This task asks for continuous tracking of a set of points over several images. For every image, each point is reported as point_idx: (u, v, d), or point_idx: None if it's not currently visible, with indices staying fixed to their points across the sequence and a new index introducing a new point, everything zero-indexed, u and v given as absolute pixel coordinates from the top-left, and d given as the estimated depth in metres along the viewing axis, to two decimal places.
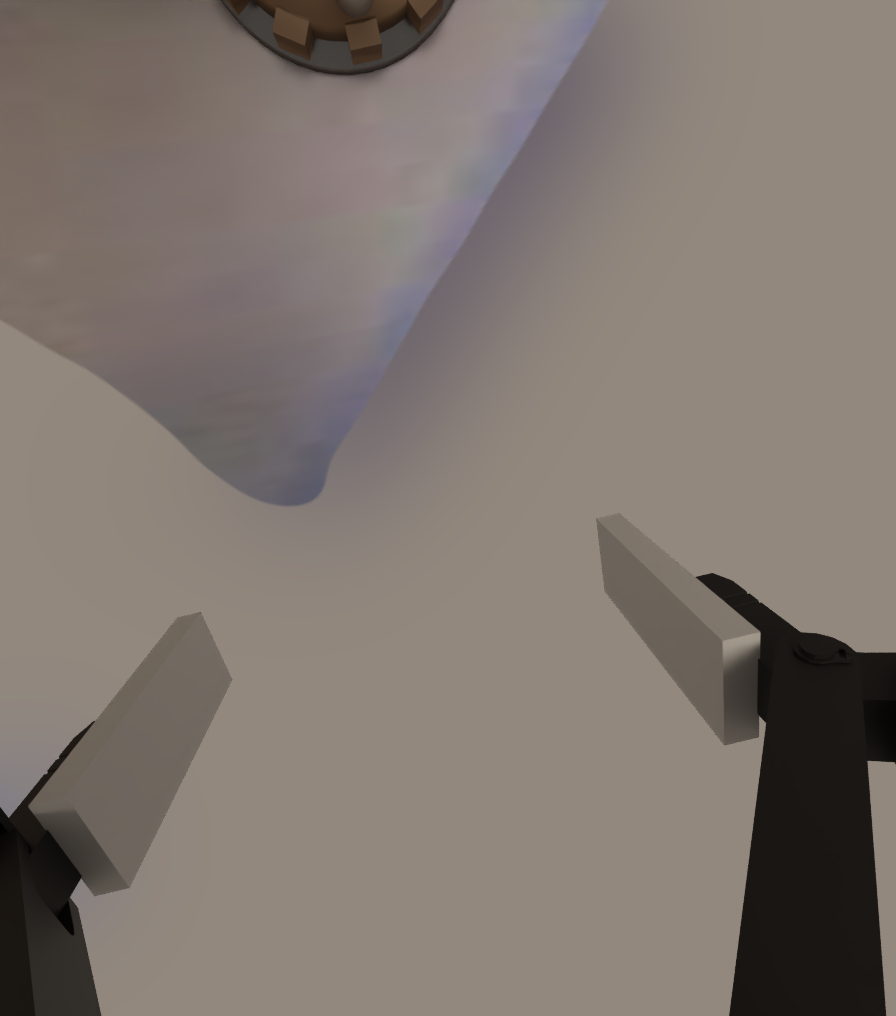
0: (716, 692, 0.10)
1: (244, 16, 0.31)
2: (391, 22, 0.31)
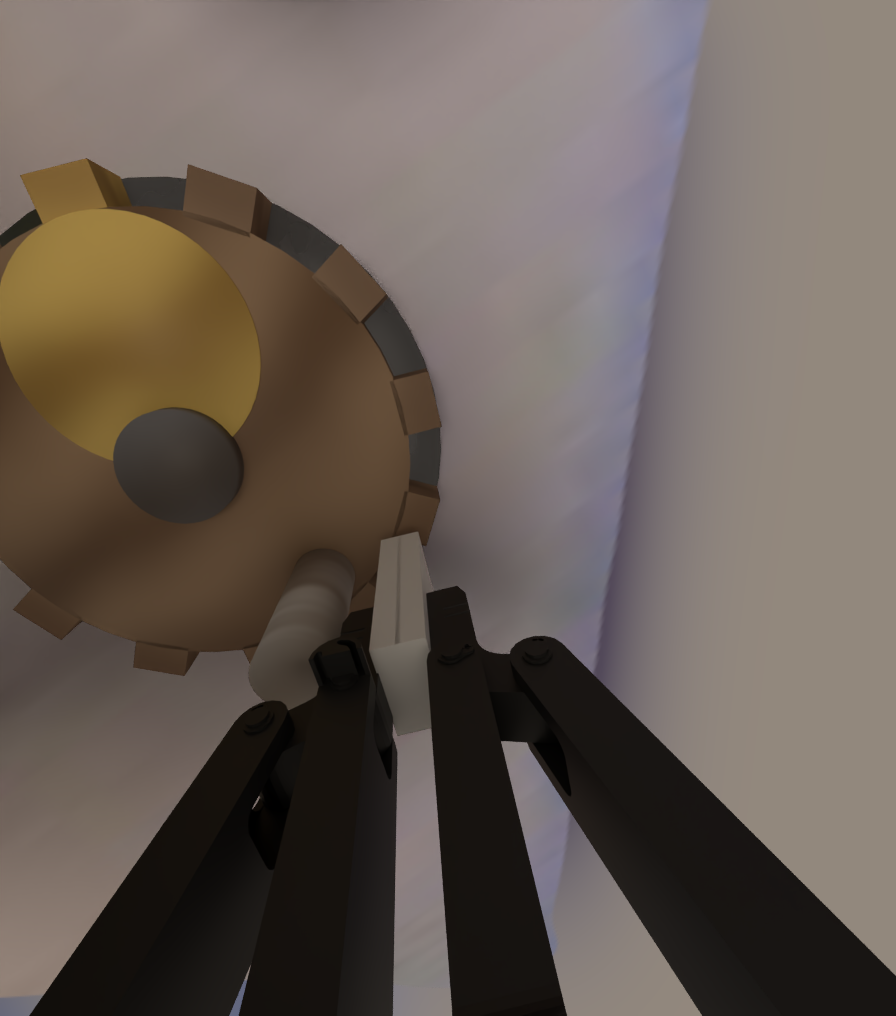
0: None
1: None
2: None
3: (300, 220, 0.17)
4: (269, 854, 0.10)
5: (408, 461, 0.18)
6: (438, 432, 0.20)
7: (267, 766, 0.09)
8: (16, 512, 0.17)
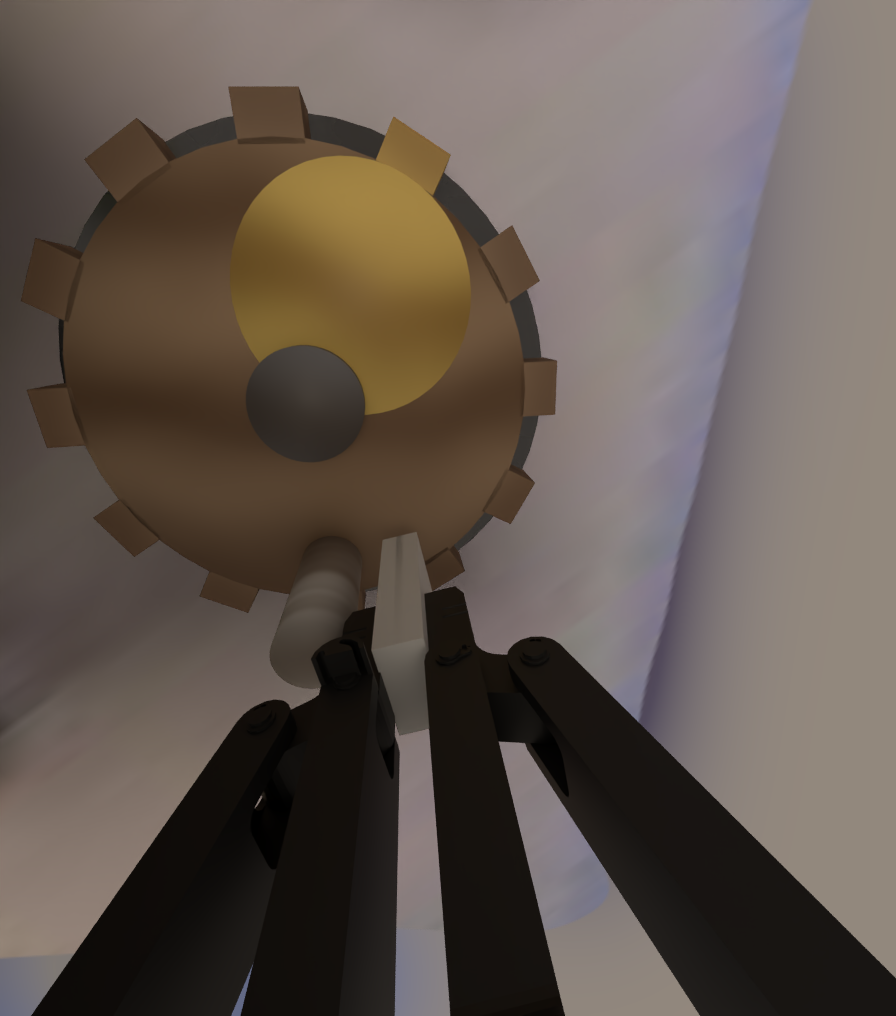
0: None
1: None
2: None
3: None
4: (271, 854, 0.10)
5: (468, 529, 0.20)
6: None
7: (269, 766, 0.09)
8: (122, 321, 0.16)
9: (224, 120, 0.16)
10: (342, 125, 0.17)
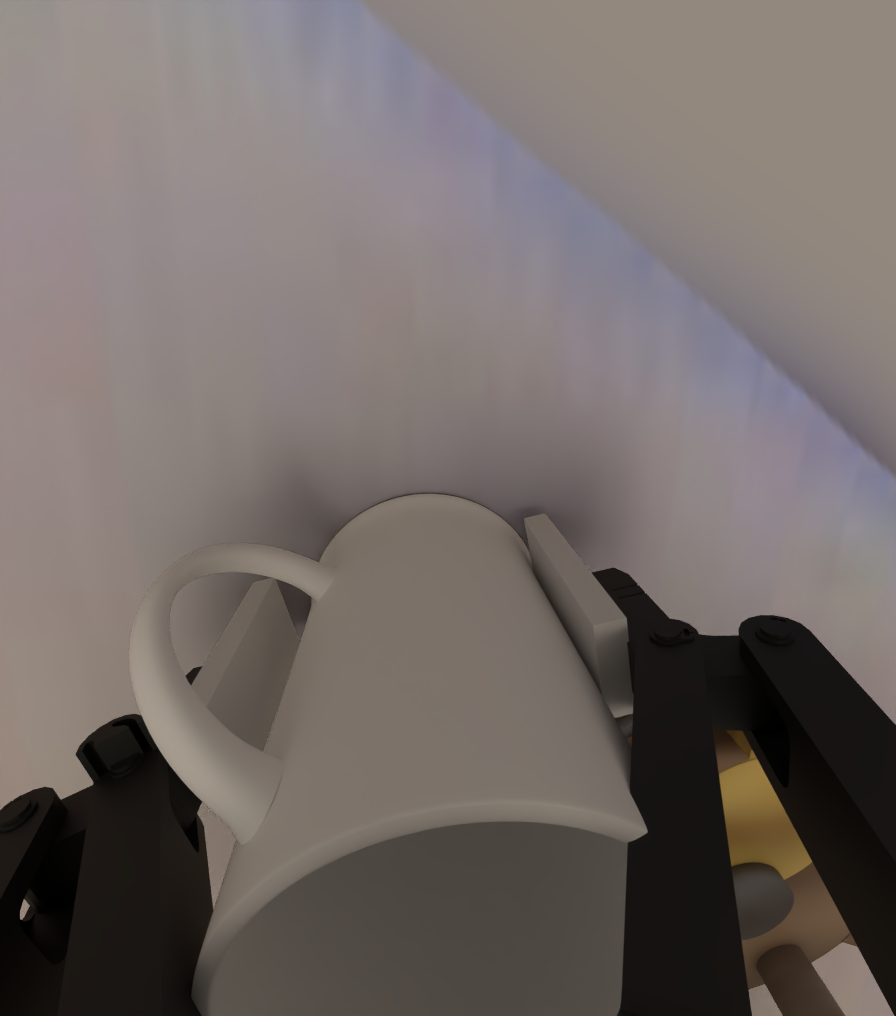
0: (596, 672, 0.11)
1: None
2: None
3: None
4: (51, 954, 0.09)
5: None
6: None
7: (36, 854, 0.09)
8: None
9: None
10: None
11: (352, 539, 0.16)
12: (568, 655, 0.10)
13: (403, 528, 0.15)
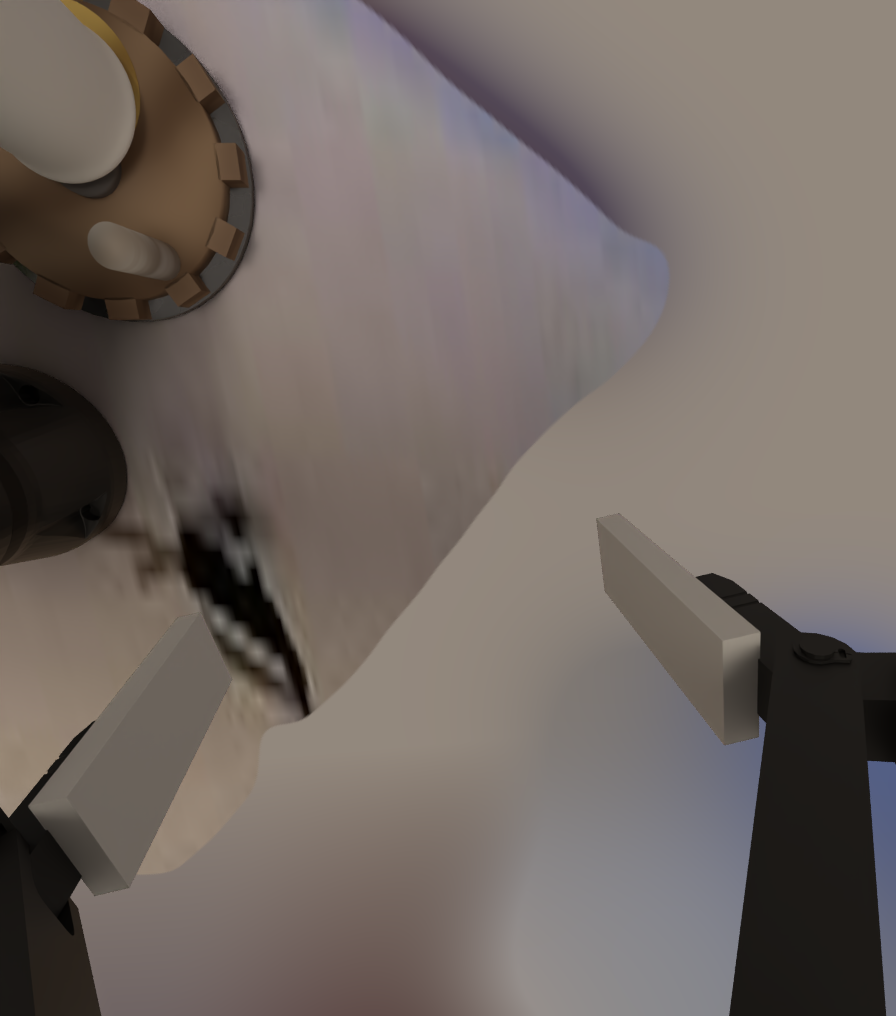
0: (716, 692, 0.10)
1: (225, 269, 0.35)
2: (205, 264, 0.34)
3: None
4: None
5: (219, 197, 0.32)
6: None
7: None
8: None
9: None
10: None
11: None
12: None
13: None
